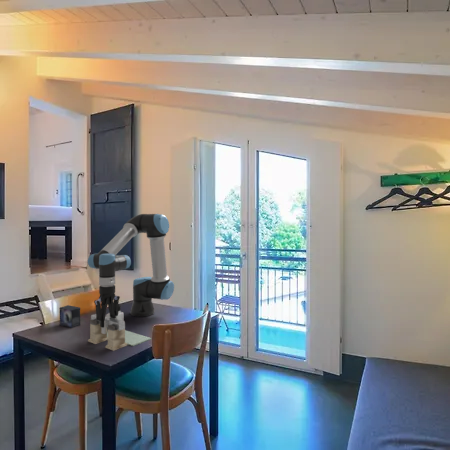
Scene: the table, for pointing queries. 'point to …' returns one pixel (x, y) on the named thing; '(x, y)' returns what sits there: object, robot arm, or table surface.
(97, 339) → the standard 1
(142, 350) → the table surface
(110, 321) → the rail
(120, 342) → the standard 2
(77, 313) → the small box
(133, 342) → the mat
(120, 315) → the medicine bottle
